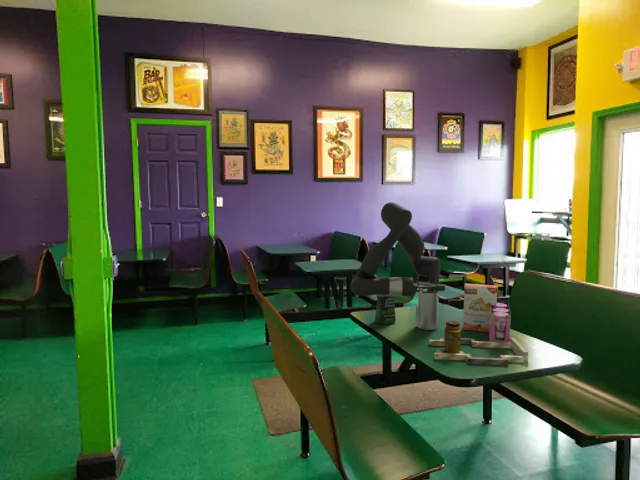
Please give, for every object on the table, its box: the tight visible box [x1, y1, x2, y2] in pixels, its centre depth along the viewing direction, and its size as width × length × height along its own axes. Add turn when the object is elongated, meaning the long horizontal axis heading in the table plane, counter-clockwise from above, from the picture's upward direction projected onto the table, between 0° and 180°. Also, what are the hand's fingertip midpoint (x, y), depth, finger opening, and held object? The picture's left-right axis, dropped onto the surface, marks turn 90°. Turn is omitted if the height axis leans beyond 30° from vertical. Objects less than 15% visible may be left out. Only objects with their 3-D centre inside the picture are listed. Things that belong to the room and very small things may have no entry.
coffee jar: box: [374, 294, 396, 325], centre depth 217 cm, size 10×8×19 cm
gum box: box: [488, 301, 512, 342], centre depth 192 cm, size 24×8×14 cm, turn 160°
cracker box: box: [462, 283, 498, 333], centre depth 204 cm, size 14×6×21 cm, turn 69°
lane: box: [428, 336, 529, 366], centre depth 175 cm, size 34×24×4 cm
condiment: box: [436, 320, 466, 354], centre depth 176 cm, size 7×8×12 cm
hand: (444, 288), depth 178 cm, fingers closed
